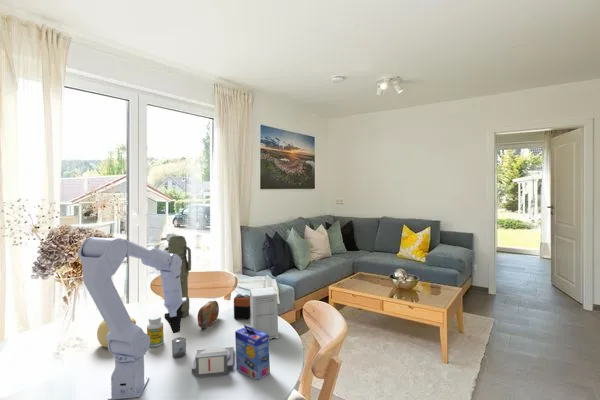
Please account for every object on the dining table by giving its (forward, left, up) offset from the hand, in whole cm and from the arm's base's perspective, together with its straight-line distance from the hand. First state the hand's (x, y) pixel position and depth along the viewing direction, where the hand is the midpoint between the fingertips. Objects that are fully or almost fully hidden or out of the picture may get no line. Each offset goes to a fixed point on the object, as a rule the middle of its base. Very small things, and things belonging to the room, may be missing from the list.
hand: (177, 326), depth 113 cm
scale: (-9, -13, -9) cm, 18 cm away
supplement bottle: (+9, +9, -10) cm, 16 cm away
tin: (+24, -8, -10) cm, 27 cm away
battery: (+28, -22, -10) cm, 37 cm away
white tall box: (+9, -30, -10) cm, 33 cm away
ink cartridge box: (-16, -25, -10) cm, 31 cm away
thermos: (+36, +6, -10) cm, 38 cm away
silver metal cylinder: (-1, -1, -9) cm, 10 cm away
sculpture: (+12, +23, -10) cm, 28 cm away
